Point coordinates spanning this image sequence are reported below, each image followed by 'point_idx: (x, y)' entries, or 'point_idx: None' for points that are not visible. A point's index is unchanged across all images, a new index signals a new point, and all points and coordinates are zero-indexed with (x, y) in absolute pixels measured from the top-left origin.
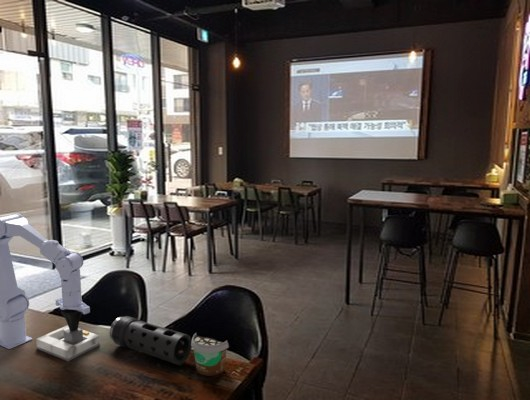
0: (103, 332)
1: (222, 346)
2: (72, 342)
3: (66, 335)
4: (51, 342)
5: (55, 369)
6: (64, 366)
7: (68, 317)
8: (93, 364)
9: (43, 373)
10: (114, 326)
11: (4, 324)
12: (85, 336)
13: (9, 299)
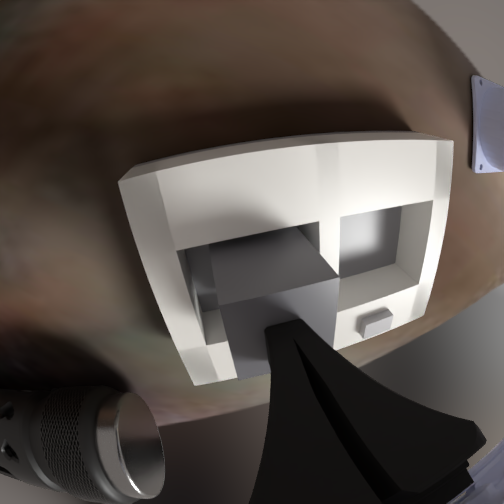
0: None
1: None
2: (211, 262)
3: (293, 268)
4: (355, 163)
5: (103, 77)
6: (95, 127)
7: (323, 460)
8: (27, 251)
9: (119, 17)
10: (83, 462)
11: None
12: None
13: None
